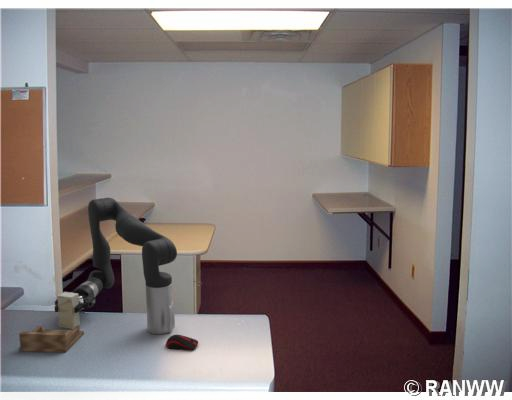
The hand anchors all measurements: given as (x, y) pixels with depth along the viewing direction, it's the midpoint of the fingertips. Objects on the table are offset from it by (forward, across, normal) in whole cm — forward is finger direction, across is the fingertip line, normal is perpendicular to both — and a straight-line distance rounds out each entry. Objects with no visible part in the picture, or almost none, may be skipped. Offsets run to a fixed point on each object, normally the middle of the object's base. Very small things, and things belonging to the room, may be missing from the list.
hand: (65, 310), depth 180 cm
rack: (+11, 0, +7) cm, 13 cm away
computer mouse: (+10, +45, +8) cm, 46 cm away
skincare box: (-2, 0, +7) cm, 8 cm away
